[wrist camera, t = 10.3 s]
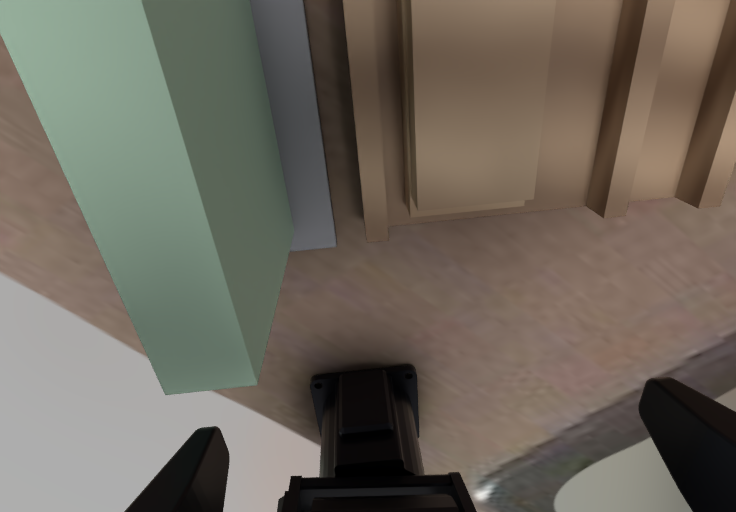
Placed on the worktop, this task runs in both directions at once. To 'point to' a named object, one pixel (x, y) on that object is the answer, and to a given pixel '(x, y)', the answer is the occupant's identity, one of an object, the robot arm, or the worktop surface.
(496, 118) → the offcut top
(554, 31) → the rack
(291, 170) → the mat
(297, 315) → the worktop surface
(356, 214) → the worktop surface
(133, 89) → the pale green square slab
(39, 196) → the worktop surface
